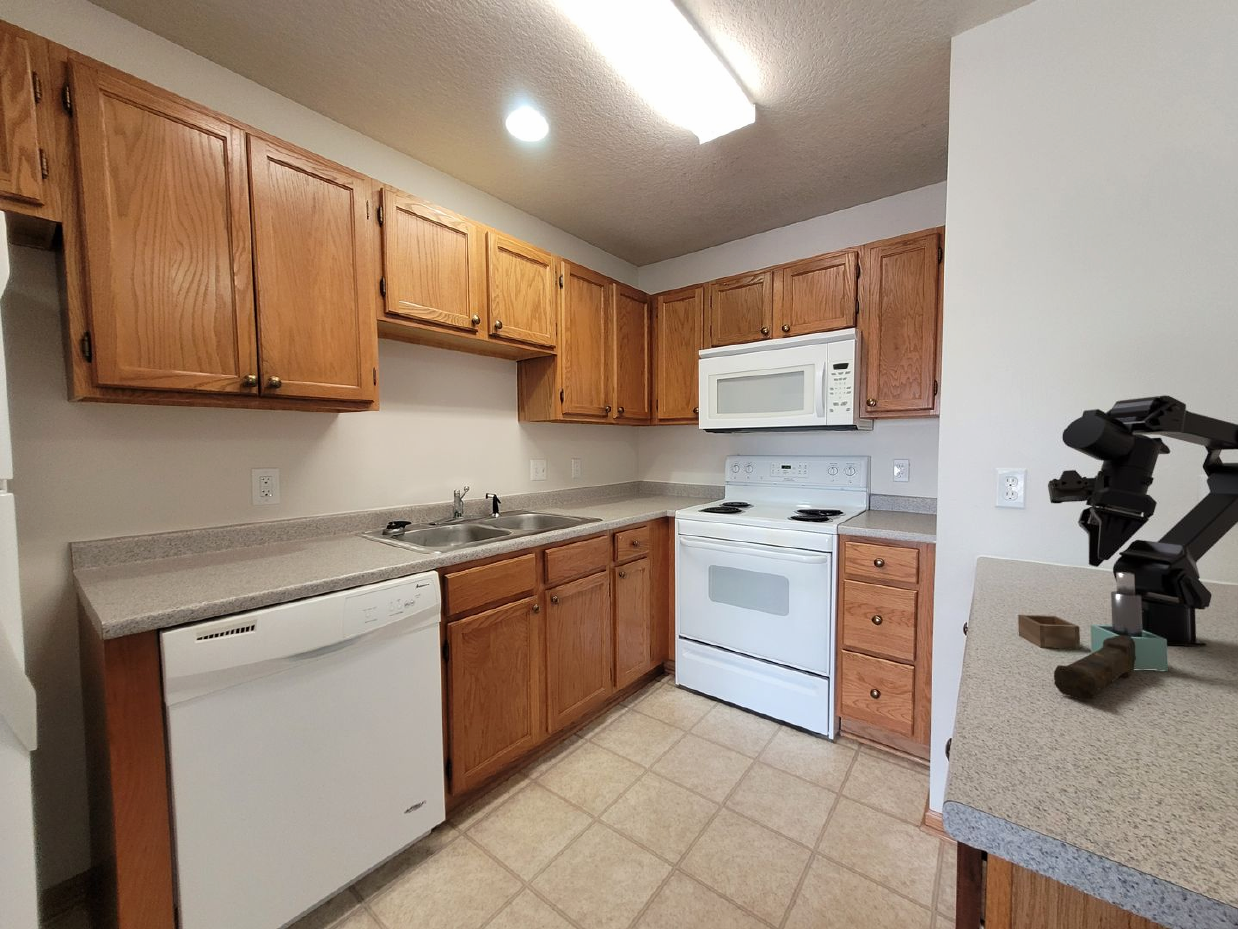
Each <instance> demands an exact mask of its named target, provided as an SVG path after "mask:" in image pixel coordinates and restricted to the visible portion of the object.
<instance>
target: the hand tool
mask: <svg viewBox="0 0 1238 929" xmlns="http://www.w3.org/2000/svg"><path fill="white" fill-rule="evenodd" d="M1135 660H1136V656H1135V642H1134V640H1133V638H1131V637H1130V636H1122V635H1119V636H1115V637H1111V638H1107V639H1105V640H1104V641H1103V647H1102V648H1101V649H1100V650H1098V651H1096V652H1094V653H1092V654H1091V653H1090V654H1088V655H1086V656H1084V657H1082V658H1080V659H1078V660H1076V661H1074V662H1072V663H1070V664H1068V665H1062V664H1059V665H1057V666H1056V667H1055V670H1054V671H1053V680H1054V682H1053V684H1054V685H1055V687H1056V688H1057V689H1058V691H1059V692H1060V693H1061V694H1063V695H1065V696H1069V697H1071V698H1074V699H1079V700H1084V701H1085V700H1086V701H1090V700H1093V699H1094V698H1095V697H1097V694H1098V692H1099V691H1100V690H1101V689H1102V688H1104V687H1105V686H1106V685H1107V684H1112V683H1113V681H1114V680H1117V679H1118V677H1131V675H1132V674H1133V672H1134V671H1135V670H1134V664H1135V662H1134V661H1135Z"/></svg>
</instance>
